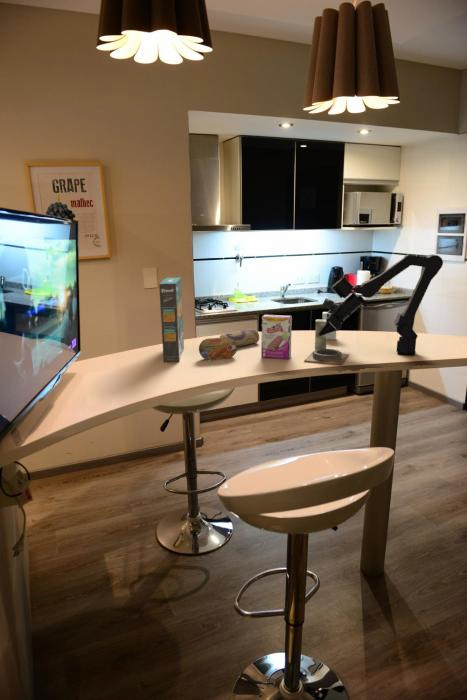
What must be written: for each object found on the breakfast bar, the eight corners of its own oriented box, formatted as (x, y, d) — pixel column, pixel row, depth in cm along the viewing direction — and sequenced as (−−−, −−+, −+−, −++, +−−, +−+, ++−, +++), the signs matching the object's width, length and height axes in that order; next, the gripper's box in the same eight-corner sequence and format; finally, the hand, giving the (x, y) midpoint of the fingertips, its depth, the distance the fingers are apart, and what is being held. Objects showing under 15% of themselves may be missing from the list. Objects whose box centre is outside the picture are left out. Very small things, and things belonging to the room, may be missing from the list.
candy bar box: (261, 358, 180) (260, 316, 176) (263, 354, 184) (263, 314, 180) (289, 359, 177) (290, 317, 173) (291, 356, 182) (292, 315, 177)
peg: (326, 349, 191) (327, 319, 188) (325, 351, 187) (326, 321, 184) (315, 348, 192) (316, 319, 189) (314, 351, 188) (315, 321, 185)
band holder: (348, 355, 181) (348, 349, 180) (342, 365, 168) (342, 358, 168) (312, 352, 186) (313, 346, 185) (304, 361, 173) (304, 355, 173)
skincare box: (335, 337, 211) (336, 311, 208) (336, 339, 207) (337, 313, 204) (321, 337, 212) (322, 311, 209) (322, 339, 208) (323, 313, 205)
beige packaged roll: (248, 341, 208) (248, 326, 206) (260, 344, 202) (260, 329, 201) (202, 351, 192) (201, 335, 191) (212, 354, 187) (212, 338, 185)
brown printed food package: (200, 361, 177) (199, 339, 175) (198, 359, 180) (197, 338, 178) (237, 357, 181) (237, 336, 179) (235, 355, 184) (235, 335, 182)
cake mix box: (169, 348, 197) (166, 277, 190) (184, 348, 197) (180, 277, 190) (163, 362, 176) (159, 283, 169) (179, 362, 176) (175, 283, 169)
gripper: (334, 289, 191) (307, 314, 197) (334, 295, 174) (304, 322, 179) (353, 308, 192) (325, 333, 197) (354, 316, 174) (323, 343, 179)
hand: (319, 332), depth 188 cm, fingers open, 9 cm apart
